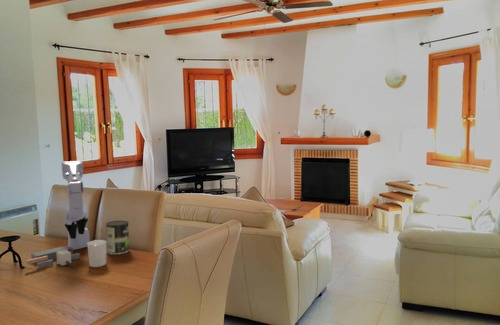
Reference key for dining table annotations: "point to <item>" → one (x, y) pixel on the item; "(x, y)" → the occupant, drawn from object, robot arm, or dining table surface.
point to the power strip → (52, 255)
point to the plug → (64, 258)
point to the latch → (37, 259)
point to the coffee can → (117, 237)
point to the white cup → (97, 253)
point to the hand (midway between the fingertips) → (77, 236)
